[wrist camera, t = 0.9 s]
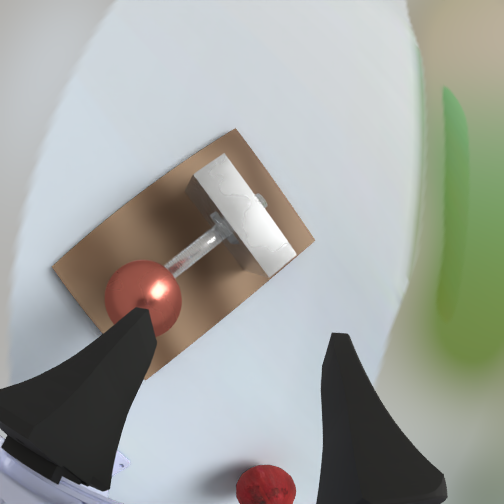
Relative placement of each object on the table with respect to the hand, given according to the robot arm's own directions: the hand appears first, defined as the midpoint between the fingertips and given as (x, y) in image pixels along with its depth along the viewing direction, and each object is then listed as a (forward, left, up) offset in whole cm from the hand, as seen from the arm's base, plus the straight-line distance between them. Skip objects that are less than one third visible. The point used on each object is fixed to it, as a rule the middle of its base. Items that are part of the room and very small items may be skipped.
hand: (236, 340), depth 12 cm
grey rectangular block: (+5, +3, -14) cm, 15 cm away
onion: (-8, -19, -14) cm, 25 cm away
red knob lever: (+1, +3, -13) cm, 13 cm away
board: (+1, +3, -14) cm, 14 cm away
